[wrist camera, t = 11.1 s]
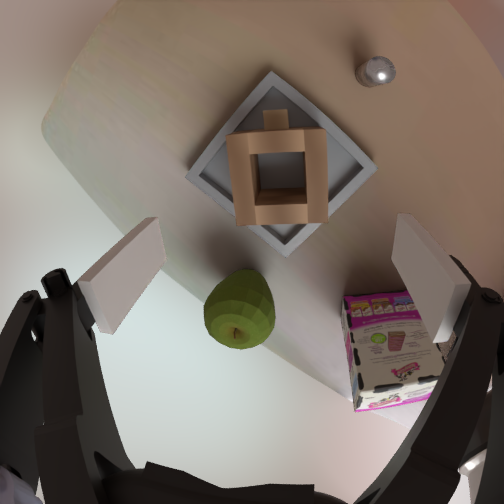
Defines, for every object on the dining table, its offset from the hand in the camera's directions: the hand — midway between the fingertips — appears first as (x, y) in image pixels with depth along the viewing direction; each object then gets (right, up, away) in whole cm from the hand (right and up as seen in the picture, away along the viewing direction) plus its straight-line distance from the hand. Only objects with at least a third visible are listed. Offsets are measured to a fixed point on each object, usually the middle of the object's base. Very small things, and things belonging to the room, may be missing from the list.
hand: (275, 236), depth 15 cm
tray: (+2, +9, +16) cm, 19 cm away
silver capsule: (+11, +19, +10) cm, 24 cm away
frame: (+2, +9, +16) cm, 18 cm away
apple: (-2, -4, +24) cm, 25 cm away
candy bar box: (+17, -9, +24) cm, 31 cm away
